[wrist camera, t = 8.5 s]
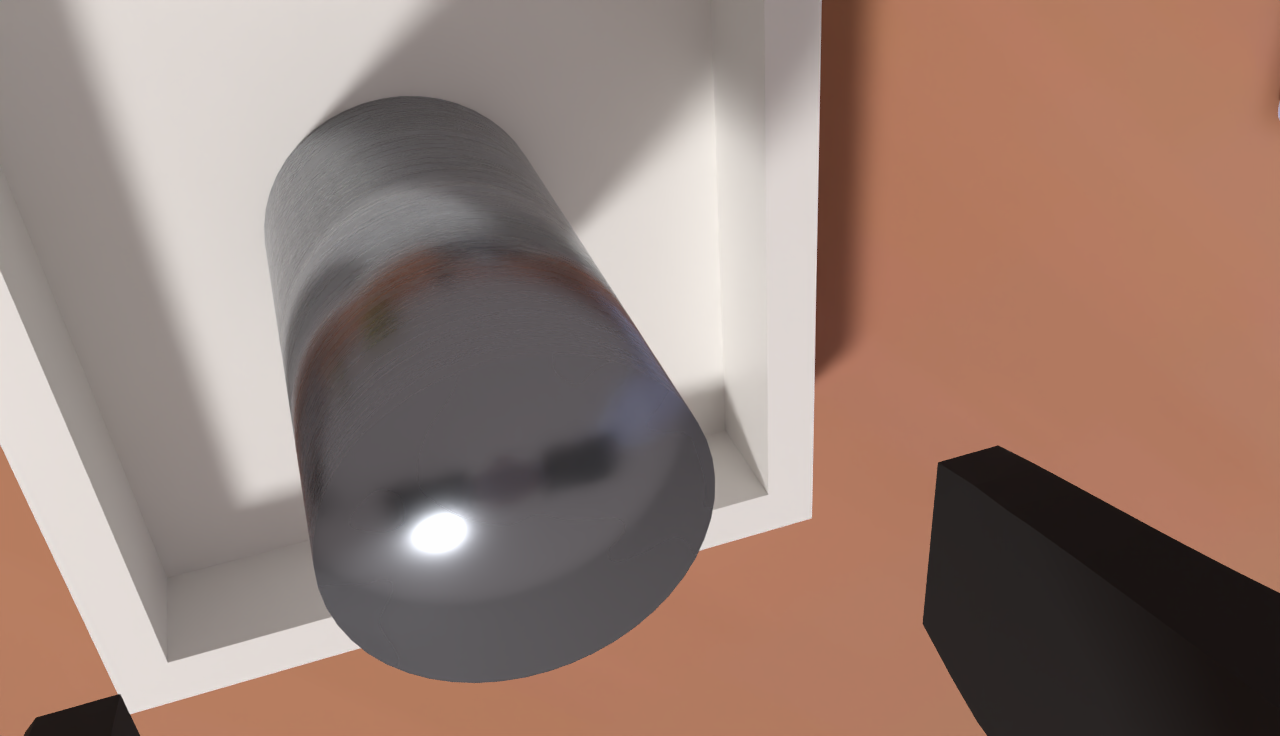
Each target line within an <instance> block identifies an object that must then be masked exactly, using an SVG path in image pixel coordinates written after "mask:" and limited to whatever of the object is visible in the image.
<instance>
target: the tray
mask: <svg viewBox="0 0 1280 736" xmlns="http://www.w3.org/2000/svg"><path fill="white" fill-rule="evenodd" d="M821 12H822V0H0V445H1V447H2V449H3V451H4V453H5V455H6V457H7V460H8V462H9V464H10V466H11V468H12V470H13V472H14V474H15V477H16V479H17V481H18V483H19V485H20V487H21V489H22V491H23V494H24V496H25V498H26V500H27V502H28V504H29V506H30V508H31V511H32V513H33V515H34V517H35V519H36V521H37V523H38V525H39V528H40V530H41V532H42V534H43V536H44V538H45V540H46V542H47V544H48V547H49V549H50V551H51V553H52V555H53V557H54V559H55V561H56V564H57V566H58V568H59V570H60V572H61V574H62V576H63V578H64V581H65V583H66V585H67V587H68V589H69V591H70V593H71V595H72V598H73V600H74V602H75V604H76V606H77V608H78V610H79V612H80V615H81V617H82V619H83V621H84V623H85V625H86V627H87V629H88V631H89V634H90V636H91V638H92V640H93V642H94V644H95V646H96V648H97V651H98V653H99V655H100V657H101V659H102V661H103V663H104V665H105V668H106V670H107V672H108V674H109V676H110V678H111V680H112V682H113V685H114V687H115V689H116V691H117V693H118V694H121V696H122V698H123V701H124V703H125V705H126V707H127V709H128V711H129V713H130V714H133V713H136V712H140V711H143V710H147V709H150V708H154V707H157V706H161V705H164V704H167V703H171V702H174V701H178V700H181V699H185V698H188V697H192V696H195V695H199V694H202V693H206V692H209V691H213V690H216V689H220V688H223V687H227V686H230V685H234V684H237V683H241V682H244V681H247V680H251V679H254V678H258V677H261V676H265V675H268V674H272V673H275V672H279V671H282V670H286V669H289V668H293V667H296V666H300V665H303V664H307V663H310V662H314V661H317V660H321V659H324V658H327V657H331V656H334V655H338V654H341V653H345V652H348V651H352V650H355V649H359V648H360V647H359V646H358V645H357V644H355V643H354V642H353V641H352V640H351V639H350V638H349V637H348V636H347V635H346V634H345V633H344V632H343V631H342V630H341V628H340V627H339V626H338V625H337V624H336V622H335V620H334V619H333V617H332V616H331V614H330V613H329V611H328V610H327V608H326V606H325V603H324V601H323V599H322V596H321V594H320V591H319V589H318V585H317V581H316V576H315V571H314V566H313V560H312V553H311V547H310V540H309V533H308V527H307V520H306V513H305V507H304V500H303V493H302V487H301V480H300V473H299V467H298V460H297V453H296V447H295V440H294V433H293V427H292V420H291V414H290V407H289V400H288V394H287V387H286V380H285V374H284V367H283V360H282V354H281V347H280V340H279V334H278V327H277V320H276V314H275V307H274V300H273V294H272V287H271V281H270V274H269V267H268V261H267V254H266V247H265V235H264V222H265V211H266V206H267V202H268V198H269V194H270V191H271V188H272V186H273V183H274V181H275V178H276V176H277V174H278V172H279V171H280V169H281V167H282V166H283V164H284V162H285V161H286V159H287V158H288V156H289V155H290V154H291V153H292V151H293V150H294V149H295V148H296V146H297V145H298V144H299V143H300V142H301V141H302V140H303V139H304V138H305V137H306V136H307V135H308V134H310V133H311V132H312V131H313V130H314V129H316V128H317V127H318V126H320V125H321V124H323V123H324V122H325V121H327V120H328V119H330V118H332V117H334V116H335V115H337V114H339V113H341V112H343V111H345V110H347V109H350V108H352V107H355V106H357V105H360V104H362V103H366V102H370V101H374V100H378V99H382V98H390V97H398V96H423V97H430V98H438V99H442V100H446V101H450V102H454V103H457V104H460V105H462V106H465V107H467V108H470V109H472V110H474V111H476V112H478V113H480V114H481V115H483V116H485V117H487V118H488V119H490V120H491V121H493V122H494V123H495V124H496V125H498V126H499V127H500V128H502V129H503V130H504V131H505V132H506V133H507V134H508V135H509V136H510V137H511V138H512V139H513V140H514V141H515V142H516V144H517V145H518V146H519V148H520V149H521V150H522V152H523V153H524V154H525V156H526V157H527V159H528V160H529V162H530V164H531V165H532V167H533V168H534V170H535V171H536V173H537V174H538V176H539V177H540V179H541V181H542V182H543V184H544V185H545V187H546V188H547V190H548V191H549V193H550V194H551V196H552V198H553V199H554V201H555V202H556V204H557V205H558V207H559V208H560V210H561V211H562V213H563V215H564V216H565V218H566V219H567V221H568V222H569V224H570V225H571V227H572V228H573V230H574V232H575V233H576V235H577V236H578V238H579V239H580V241H581V242H582V244H583V245H584V247H585V249H586V250H587V252H588V253H589V255H590V256H591V258H592V259H593V261H594V262H595V264H596V266H597V267H598V269H599V270H600V272H601V273H602V275H603V276H604V278H605V279H606V281H607V283H608V284H609V286H610V287H611V289H612V290H613V292H614V293H615V295H616V297H617V298H618V300H619V301H620V303H621V304H622V306H623V307H624V309H625V310H626V312H627V314H628V315H629V317H630V318H631V320H632V321H633V323H634V324H635V326H636V327H637V329H638V331H639V332H640V334H641V335H642V337H643V338H644V340H645V341H646V343H647V344H648V346H649V348H650V349H651V351H652V352H653V354H654V355H655V357H656V358H657V360H658V361H659V363H660V365H661V366H662V368H663V369H664V371H665V372H666V374H667V375H668V377H669V378H670V380H671V382H672V383H673V385H674V386H675V388H676V389H677V391H678V392H679V394H680V395H681V397H682V399H683V400H684V402H685V403H686V405H687V406H688V408H689V409H690V411H691V412H692V414H693V416H694V417H695V419H696V420H697V422H698V424H699V426H700V428H701V430H702V432H703V434H704V435H705V437H706V439H707V442H708V446H709V449H710V452H711V455H712V458H713V466H714V473H715V500H714V505H713V511H712V517H711V521H710V524H709V527H708V530H707V533H706V536H705V539H704V541H703V543H702V545H701V548H700V550H703V549H707V548H710V547H714V546H717V545H721V544H724V543H727V542H731V541H734V540H738V539H741V538H745V537H748V536H752V535H755V534H759V533H762V532H766V531H769V530H773V529H776V528H780V527H783V526H787V525H790V524H794V523H797V522H801V521H804V520H807V519H811V518H812V484H813V432H814V379H815V327H816V274H817V222H818V169H819V117H820V64H821ZM700 550H699V551H700Z"/></svg>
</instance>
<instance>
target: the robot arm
mask: <svg viewBox="0 0 1280 736" xmlns="http://www.w3.org/2000/svg"><path fill="white" fill-rule="evenodd" d="M1278 117H1279V120H1280V102H1279V108H1278ZM923 625H924V627H925V629H926V631H927V633H928V634H929V636H930V638H931V640H932V642H933V644H934V646H935V647H936V649H937V651H938V653H939V655H940V657H941V659H942V661H943V662H944V664H945V666H946V668H947V670H948V672H949V674H950V675H951V677H952V679H953V681H954V682H955V684H956V686H957V688H958V689H959V691H960V693H961V695H962V696H963V698H964V700H965V701H966V703H967V705H968V707H969V708H970V710H971V712H972V714H973V715H974V717H975V719H976V720H977V722H978V723H979V725H980V726H981V728H982V729H983V730H984V732H985V733H986V735H987V736H1280V593H1279V592H1276V591H1274V590H1272V589H1270V588H1268V587H1266V586H1264V585H1262V584H1260V583H1258V582H1256V581H1254V580H1252V579H1250V578H1248V577H1246V576H1244V575H1242V574H1240V573H1238V572H1236V571H1234V570H1232V569H1230V568H1229V567H1227V566H1225V565H1223V564H1221V563H1219V562H1217V561H1215V560H1213V559H1211V558H1209V557H1207V556H1205V555H1203V554H1201V553H1200V552H1198V551H1196V550H1194V549H1192V548H1190V547H1188V546H1186V545H1184V544H1182V543H1180V542H1179V541H1177V540H1175V539H1173V538H1171V537H1169V536H1167V535H1165V534H1164V533H1162V532H1160V531H1158V530H1156V529H1154V528H1152V527H1150V526H1149V525H1147V524H1145V523H1143V522H1141V521H1139V520H1138V519H1136V518H1134V517H1132V516H1130V515H1128V514H1126V513H1125V512H1123V511H1121V510H1119V509H1117V508H1115V507H1113V506H1112V505H1110V504H1108V503H1106V502H1104V501H1102V500H1101V499H1099V498H1097V497H1095V496H1093V495H1091V494H1090V493H1088V492H1086V491H1084V490H1082V489H1080V488H1078V487H1077V486H1075V485H1073V484H1071V483H1069V482H1067V481H1066V480H1064V479H1062V478H1060V477H1058V476H1056V475H1054V474H1053V473H1051V472H1049V471H1047V470H1045V469H1043V468H1041V467H1039V466H1037V465H1036V464H1034V463H1032V462H1030V461H1028V460H1026V459H1024V458H1022V457H1020V456H1018V455H1016V454H1014V453H1012V452H1010V451H1008V450H1006V449H1004V448H1002V447H1000V446H995V447H991V448H988V449H984V450H981V451H977V452H973V453H970V454H966V455H963V456H959V457H956V458H952V459H949V460H945V461H942V462H938V468H937V479H936V489H935V500H934V510H933V521H932V531H931V542H930V552H929V563H928V573H927V584H926V594H925V605H924V615H923ZM24 736H140V735H139V733H138V730H137V728H136V726H135V724H134V722H133V720H132V718H131V716H130V713H129V711H128V709H127V707H126V705H125V703H124V701H123V698H122V696H121V694H118V695H115V696H111V697H108V698H104V699H100V700H97V701H93V702H90V703H86V704H83V705H79V706H76V707H72V708H69V709H65V710H62V711H58V712H55V713H51V714H47V715H44V716H40V717H37V718H35V720H34V721H33V723H32V724H31V725H30V727H29V728H28V729H27V731H26V732H25V734H24Z"/></svg>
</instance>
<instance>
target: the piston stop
mask: <svg viewBox="0 0 1280 736" xmlns="http://www.w3.org/2000/svg"><path fill="white" fill-rule="evenodd" d="M264 235H265V247H266V254H267V261H268V267H269V274H270V281H271V287H272V294H273V300H274V307H275V314H276V320H277V327H278V334H279V340H280V347H281V354H282V360H283V367H284V374H285V380H286V387H287V394H288V400H289V407H290V414H291V420H292V427H293V433H294V440H295V447H296V453H297V460H298V467H299V473H300V480H301V487H302V493H303V500H304V507H305V513H306V520H307V527H308V533H309V540H310V547H311V553H312V560H313V566H314V571H315V576H316V581H317V585H318V589H319V591H320V594H321V596H322V599H323V601H324V603H325V606H326V608H327V610H328V611H329V613H330V614H331V616H332V617H333V619H334V620H335V622H336V624H337V625H338V626H339V627H340V628H341V630H342V631H343V632H344V633H345V634H346V635H347V636H348V637H349V638H350V639H351V640H352V641H353V642H354V643H355V644H357V645H358V646H359V647H360V648H362V649H363V650H364V651H366V652H367V653H368V654H370V655H371V656H373V657H375V658H377V659H378V660H380V661H382V662H384V663H385V664H387V665H390V666H392V667H395V668H397V669H400V670H402V671H405V672H407V673H410V674H414V675H418V676H422V677H426V678H429V679H436V680H443V681H450V682H468V683H482V682H497V681H506V680H512V679H518V678H524V677H528V676H532V675H536V674H540V673H544V672H548V671H551V670H554V669H557V668H559V667H562V666H565V665H568V664H571V663H573V662H575V661H577V660H580V659H582V658H584V657H586V656H588V655H591V654H593V653H595V652H597V651H598V650H600V649H602V648H604V647H605V646H607V645H609V644H611V643H612V642H614V641H616V640H617V639H619V638H620V637H622V636H623V635H624V634H626V633H627V632H629V631H630V630H632V629H633V628H634V627H636V626H637V625H638V624H639V623H640V622H642V621H643V620H644V619H645V618H646V617H648V616H649V615H650V614H651V613H652V612H653V611H654V610H655V609H656V608H657V607H658V606H659V605H660V604H661V603H662V602H663V601H664V600H665V599H666V598H667V597H668V596H669V595H670V594H671V592H672V591H673V590H674V589H675V587H676V586H677V585H678V584H679V582H680V581H681V580H682V579H683V577H684V576H685V574H686V573H687V571H688V569H689V568H690V566H691V565H692V563H693V561H694V560H695V558H696V556H697V554H698V552H699V550H700V548H701V545H702V543H703V541H704V539H705V536H706V533H707V530H708V527H709V524H710V521H711V517H712V511H713V505H714V500H715V473H714V466H713V458H712V455H711V452H710V449H709V446H708V442H707V439H706V437H705V435H704V434H703V432H702V430H701V428H700V426H699V424H698V422H697V420H696V419H695V417H694V416H693V414H692V412H691V411H690V409H689V408H688V406H687V405H686V403H685V402H684V400H683V399H682V397H681V395H680V394H679V392H678V391H677V389H676V388H675V386H674V385H673V383H672V382H671V380H670V378H669V377H668V375H667V374H666V372H665V371H664V369H663V368H662V366H661V365H660V363H659V361H658V360H657V358H656V357H655V355H654V354H653V352H652V351H651V349H650V348H649V346H648V344H647V343H646V341H645V340H644V338H643V337H642V335H641V334H640V332H639V331H638V329H637V327H636V326H635V324H634V323H633V321H632V320H631V318H630V317H629V315H628V314H627V312H626V310H625V309H624V307H623V306H622V304H621V303H620V301H619V300H618V298H617V297H616V295H615V293H614V292H613V290H612V289H611V287H610V286H609V284H608V283H607V281H606V279H605V278H604V276H603V275H602V273H601V272H600V270H599V269H598V267H597V266H596V264H595V262H594V261H593V259H592V258H591V256H590V255H589V253H588V252H587V250H586V249H585V247H584V245H583V244H582V242H581V241H580V239H579V238H578V236H577V235H576V233H575V232H574V230H573V228H572V227H571V225H570V224H569V222H568V221H567V219H566V218H565V216H564V215H563V213H562V211H561V210H560V208H559V207H558V205H557V204H556V202H555V201H554V199H553V198H552V196H551V194H550V193H549V191H548V190H547V188H546V187H545V185H544V184H543V182H542V181H541V179H540V177H539V176H538V174H537V173H536V171H535V170H534V168H533V167H532V165H531V164H530V162H529V160H528V159H527V157H526V156H525V154H524V153H523V152H522V150H521V149H520V148H519V146H518V145H517V144H516V142H515V141H514V140H513V139H512V138H511V137H510V136H509V135H508V134H507V133H506V132H505V131H504V130H503V129H502V128H500V127H499V126H498V125H496V124H495V123H494V122H493V121H491V120H490V119H488V118H487V117H485V116H483V115H481V114H480V113H478V112H476V111H474V110H472V109H470V108H467V107H465V106H462V105H460V104H457V103H454V102H450V101H446V100H442V99H438V98H430V97H423V96H398V97H390V98H382V99H378V100H374V101H370V102H366V103H362V104H360V105H357V106H355V107H352V108H350V109H347V110H345V111H343V112H341V113H339V114H337V115H335V116H334V117H332V118H330V119H328V120H327V121H325V122H324V123H323V124H321V125H320V126H318V127H317V128H316V129H314V130H313V131H312V132H311V133H310V134H308V135H307V136H306V137H305V138H304V139H303V140H302V141H301V142H300V143H299V144H298V145H297V146H296V148H295V149H294V150H293V151H292V153H291V154H290V155H289V156H288V158H287V159H286V161H285V162H284V164H283V166H282V167H281V169H280V171H279V172H278V174H277V176H276V178H275V181H274V183H273V186H272V188H271V191H270V194H269V198H268V202H267V206H266V211H265V222H264Z"/></svg>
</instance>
